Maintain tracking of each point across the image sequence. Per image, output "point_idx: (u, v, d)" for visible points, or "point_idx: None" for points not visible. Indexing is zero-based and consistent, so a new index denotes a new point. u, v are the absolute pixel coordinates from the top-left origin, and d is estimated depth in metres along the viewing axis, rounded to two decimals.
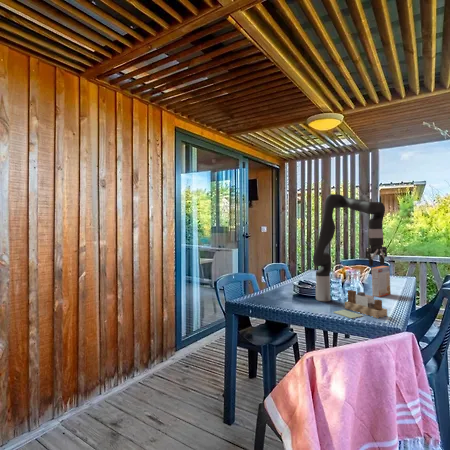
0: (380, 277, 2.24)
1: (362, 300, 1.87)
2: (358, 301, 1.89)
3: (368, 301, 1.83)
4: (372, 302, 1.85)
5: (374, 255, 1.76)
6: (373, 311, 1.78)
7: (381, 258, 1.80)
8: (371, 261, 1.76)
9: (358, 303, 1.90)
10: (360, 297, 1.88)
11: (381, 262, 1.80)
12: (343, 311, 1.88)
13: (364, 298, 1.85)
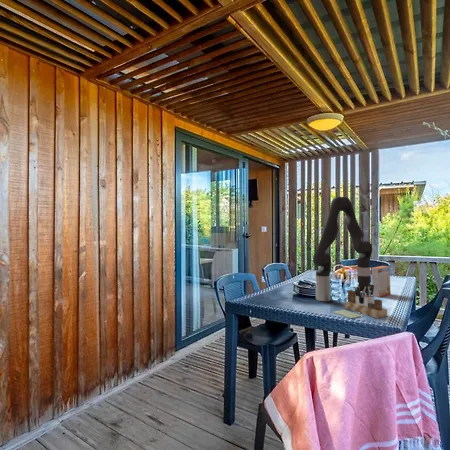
0: (380, 277, 2.24)
1: None
2: (358, 301, 1.89)
3: (368, 301, 1.83)
4: (372, 302, 1.85)
5: (363, 293, 1.86)
6: (373, 311, 1.78)
7: None
8: (361, 299, 1.86)
9: (358, 303, 1.90)
10: None
11: None
12: (343, 311, 1.88)
13: (364, 298, 1.85)
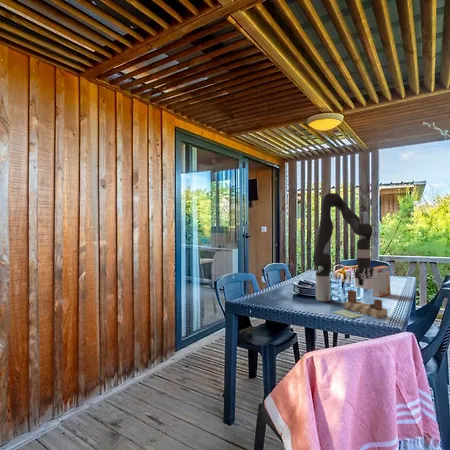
0: (380, 277, 2.24)
1: None
2: None
3: (367, 283, 1.84)
4: (371, 284, 1.85)
5: (363, 275, 1.86)
6: (373, 311, 1.78)
7: None
8: (360, 281, 1.86)
9: (357, 285, 1.90)
10: None
11: None
12: (343, 311, 1.88)
13: (363, 280, 1.85)
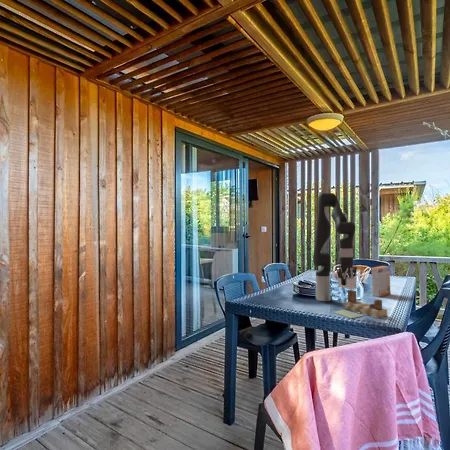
0: (380, 277, 2.24)
1: None
2: None
3: (350, 283, 1.79)
4: (354, 284, 1.81)
5: (345, 275, 1.82)
6: (373, 311, 1.78)
7: None
8: (343, 281, 1.82)
9: (340, 285, 1.85)
10: None
11: None
12: (343, 311, 1.88)
13: (346, 280, 1.81)
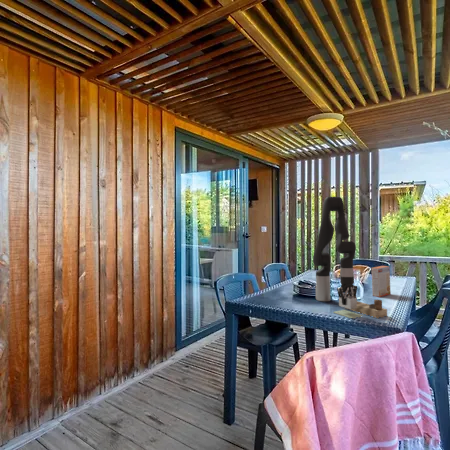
0: (380, 277, 2.24)
1: None
2: None
3: (351, 302, 1.79)
4: (355, 303, 1.81)
5: (346, 294, 1.82)
6: (373, 311, 1.78)
7: None
8: (344, 300, 1.82)
9: (341, 304, 1.85)
10: None
11: None
12: (343, 311, 1.88)
13: (347, 299, 1.81)
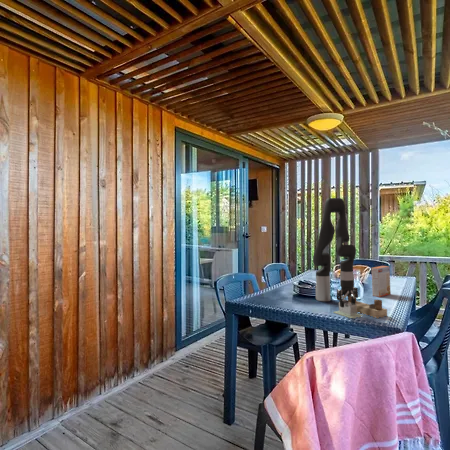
0: (380, 277, 2.24)
1: (345, 308, 1.83)
2: (341, 309, 1.85)
3: (351, 309, 1.79)
4: (355, 310, 1.81)
5: (345, 297, 1.81)
6: (373, 311, 1.78)
7: (352, 299, 1.86)
8: (342, 303, 1.82)
9: (341, 311, 1.85)
10: None
11: None
12: None
13: (347, 306, 1.81)
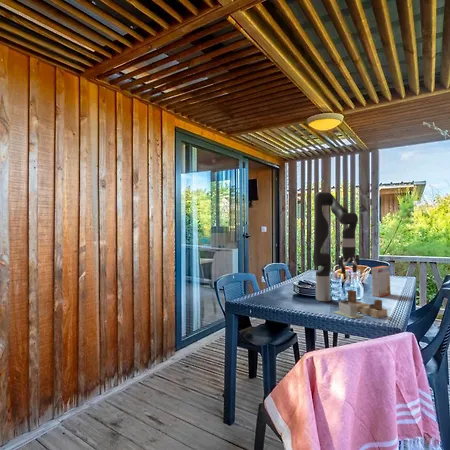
0: (380, 277, 2.24)
1: (345, 308, 1.83)
2: (341, 309, 1.85)
3: (351, 309, 1.79)
4: (355, 310, 1.81)
5: (346, 263, 1.85)
6: (373, 311, 1.78)
7: (354, 266, 1.90)
8: (343, 269, 1.86)
9: (341, 311, 1.85)
10: (343, 305, 1.84)
11: (354, 270, 1.90)
12: None
13: (347, 306, 1.81)
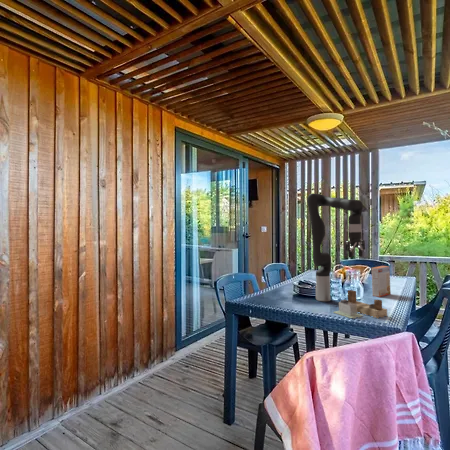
0: (380, 277, 2.24)
1: (345, 308, 1.83)
2: (341, 309, 1.85)
3: (351, 309, 1.79)
4: (355, 310, 1.81)
5: (353, 248, 1.95)
6: (373, 311, 1.78)
7: (360, 250, 1.99)
8: (350, 253, 1.95)
9: (341, 311, 1.85)
10: (343, 305, 1.84)
11: (360, 254, 1.99)
12: None
13: (347, 306, 1.81)
